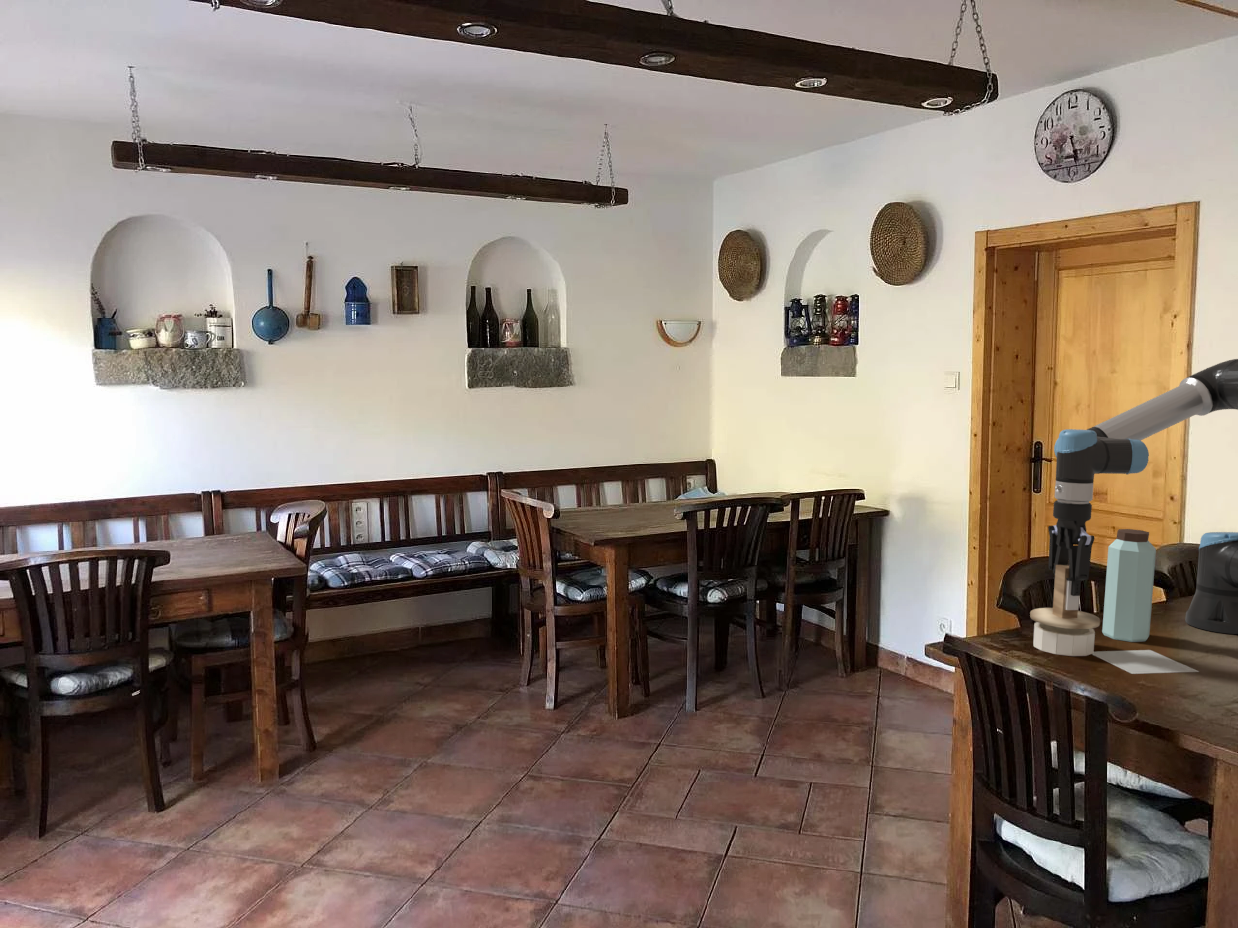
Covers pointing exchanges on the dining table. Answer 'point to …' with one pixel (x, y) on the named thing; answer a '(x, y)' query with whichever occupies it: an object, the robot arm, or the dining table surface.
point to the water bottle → (1129, 586)
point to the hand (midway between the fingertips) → (1065, 606)
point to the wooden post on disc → (1063, 607)
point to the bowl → (1063, 640)
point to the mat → (1142, 662)
